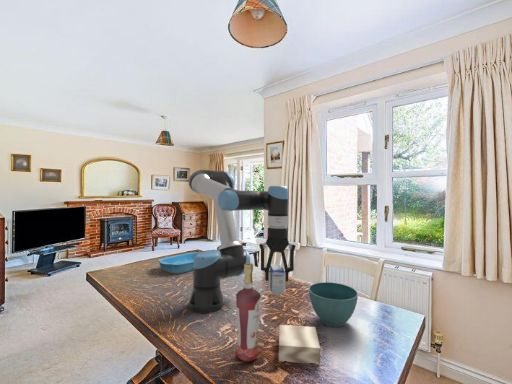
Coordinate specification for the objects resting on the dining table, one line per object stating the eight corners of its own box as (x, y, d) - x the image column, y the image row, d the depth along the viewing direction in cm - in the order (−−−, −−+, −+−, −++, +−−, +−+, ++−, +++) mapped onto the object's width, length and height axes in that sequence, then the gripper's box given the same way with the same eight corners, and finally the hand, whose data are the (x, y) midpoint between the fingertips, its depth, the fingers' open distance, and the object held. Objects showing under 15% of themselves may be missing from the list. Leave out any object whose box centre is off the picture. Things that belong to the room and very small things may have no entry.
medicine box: (269, 286, 99) (269, 264, 99) (280, 286, 100) (280, 264, 100) (272, 294, 91) (272, 270, 91) (284, 294, 92) (284, 270, 92)
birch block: (278, 362, 76) (278, 345, 76) (279, 339, 88) (279, 324, 88) (320, 365, 74) (320, 348, 74) (314, 341, 86) (315, 327, 86)
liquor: (254, 368, 72) (255, 268, 73) (231, 361, 75) (232, 266, 75) (263, 353, 79) (264, 262, 79) (241, 347, 82) (242, 260, 82)
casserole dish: (196, 259, 192) (196, 250, 192) (217, 264, 179) (217, 254, 179) (151, 271, 162) (151, 260, 162) (173, 278, 149) (173, 266, 149)
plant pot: (352, 340, 87) (352, 303, 87) (301, 325, 97) (301, 292, 97) (361, 318, 102) (361, 287, 103) (317, 307, 112) (317, 279, 112)
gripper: (253, 227, 92) (252, 292, 92) (303, 228, 92) (302, 294, 91) (254, 225, 99) (253, 285, 99) (300, 226, 99) (299, 286, 99)
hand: (276, 289), depth 95 cm, fingers closed on medicine box, 5 cm apart
